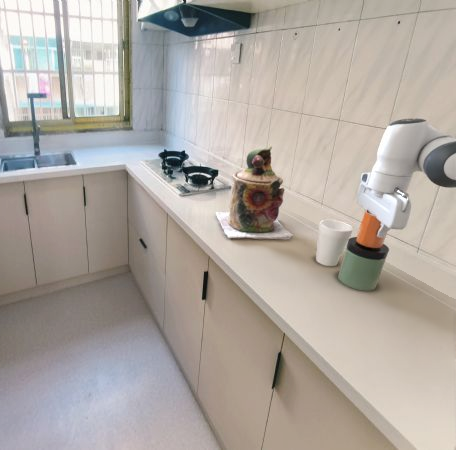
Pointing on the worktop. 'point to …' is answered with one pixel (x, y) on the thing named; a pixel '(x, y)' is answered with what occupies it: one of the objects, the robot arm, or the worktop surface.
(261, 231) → the cookie jar
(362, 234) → the cup
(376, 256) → the jar lid
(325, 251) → the foam cup
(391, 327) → the worktop surface
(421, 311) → the worktop surface
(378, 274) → the jar
